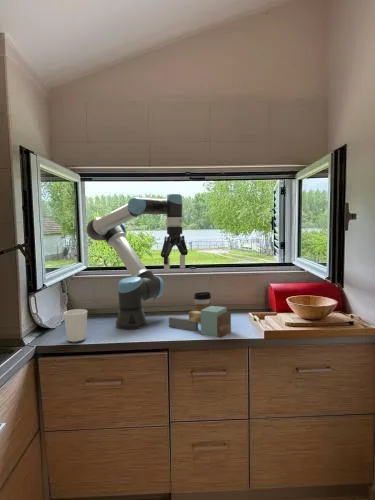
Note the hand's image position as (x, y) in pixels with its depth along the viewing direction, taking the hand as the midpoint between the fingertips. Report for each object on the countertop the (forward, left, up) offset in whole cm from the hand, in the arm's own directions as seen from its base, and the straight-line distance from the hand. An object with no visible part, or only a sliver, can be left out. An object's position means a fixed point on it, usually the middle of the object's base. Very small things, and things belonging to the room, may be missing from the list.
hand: (174, 269), depth 169 cm
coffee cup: (+10, +9, -28) cm, 31 cm away
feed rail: (+6, -4, -27) cm, 28 cm away
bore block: (+23, -4, -27) cm, 36 cm away
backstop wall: (+28, -4, -27) cm, 39 cm away
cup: (-25, -41, -28) cm, 55 cm away
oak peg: (+18, -4, -23) cm, 29 cm away
